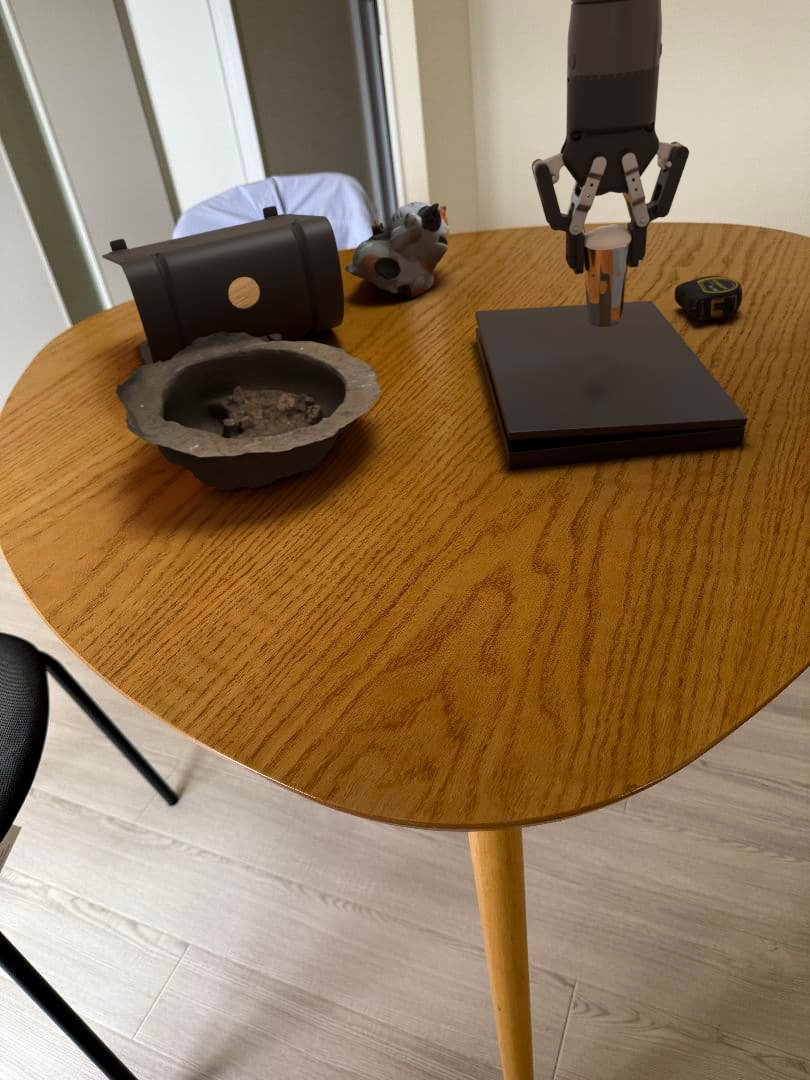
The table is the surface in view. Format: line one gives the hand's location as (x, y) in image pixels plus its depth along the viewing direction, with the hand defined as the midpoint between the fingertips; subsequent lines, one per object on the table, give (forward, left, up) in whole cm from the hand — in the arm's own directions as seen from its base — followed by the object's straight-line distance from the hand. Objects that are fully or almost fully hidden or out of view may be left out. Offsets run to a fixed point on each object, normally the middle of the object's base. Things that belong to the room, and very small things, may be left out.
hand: (604, 267), depth 75 cm
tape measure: (-16, -15, -13) cm, 25 cm away
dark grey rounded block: (+42, -23, -13) cm, 50 cm away
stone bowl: (+35, +6, -13) cm, 38 cm away
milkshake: (0, 0, -6) cm, 6 cm away
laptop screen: (+1, 0, -10) cm, 10 cm away
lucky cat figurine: (+20, -39, -13) cm, 46 cm away
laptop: (+1, 0, -12) cm, 12 cm away
